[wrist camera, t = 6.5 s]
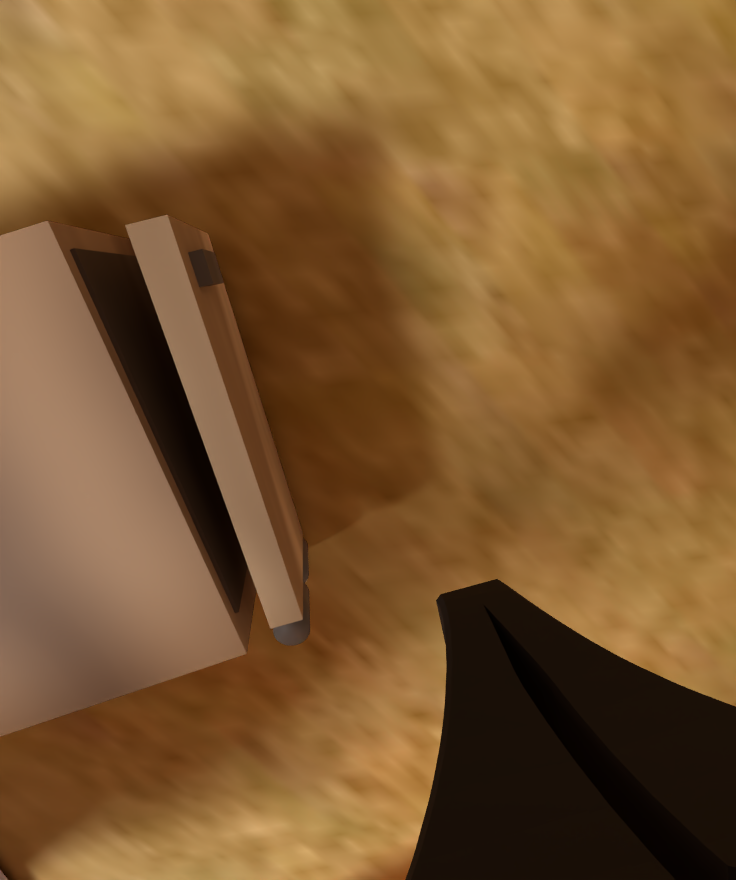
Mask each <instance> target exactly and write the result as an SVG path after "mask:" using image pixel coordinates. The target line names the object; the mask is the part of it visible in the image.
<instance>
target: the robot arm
mask: <svg viewBox="0 0 736 880" xmlns="http://www.w3.org/2000/svg"><path fill="white" fill-rule="evenodd" d="M436 602H437V606H438V611H439V616H440V620H441V625H442V630H443V634H444V639H445V644H446V660H447V673H446V695H445V709H444V719H443V727H442V734H441V742H440V748H439V754H438V759H437V764H436V770H435V775H434V780H433V785H432V789H431V794H430V798H429V802H428V806H427V809H426V813H425V817H424V820H423V824H422V828H421V832H420V835H419V839H418V843H417V846H416V850H415V853H414V856H413V859H412V862H411V865H410V868H409V871H408V874H407V877H406V880H736V707H735V706H732V705H730V704H727V703H724V702H722V701H719V700H716V699H714V698H711V697H708V696H706V695H703V694H701V693H698V692H695V691H693V690H691V689H688V688H686V687H683V686H681V685H679V684H676V683H674V682H671V681H669V680H667V679H665V678H663V677H661V676H658V675H656V674H654V673H652V672H650V671H648V670H646V669H643V668H641V667H639V666H637V665H635V664H633V663H631V662H629V661H627V660H625V659H623V658H621V657H619V656H617V655H615V654H613V653H612V652H610V651H608V650H606V649H604V648H603V647H601V646H599V645H597V644H595V643H594V642H592V641H590V640H589V639H587V638H585V637H584V636H582V635H580V634H579V633H577V632H575V631H574V630H572V629H571V628H569V627H567V626H566V625H564V624H563V623H561V622H560V621H558V620H556V619H555V618H553V617H552V616H550V615H549V614H547V613H546V612H544V611H543V610H541V609H540V608H538V607H537V606H535V605H534V604H533V603H531V602H530V601H528V600H527V599H525V598H524V597H523V596H521V595H520V594H518V593H517V592H516V591H514V590H513V589H511V588H510V587H509V586H507V585H506V584H504V583H503V582H501V581H500V580H498V579H495V580H492V581H488V582H484V583H481V584H477V585H473V586H470V587H466V588H462V589H459V590H455V591H451V592H447V593H444V594H441V595H440V596H439V597H438V599H437V600H436ZM0 880H8V879H7V878H6V876H5V875H4V874H3V872H2V871H1V870H0Z"/></svg>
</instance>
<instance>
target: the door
mask: <svg viewBox="0 0 736 880" xmlns="http://www.w3.org/2000/svg"><path fill="white" fill-rule="evenodd" d="M125 227H126V229H127V232H128V235H129V238H130V240H131V243H132V246H133V249H134V252H135V254H136V257H137V260H138V263H139V265H140V268H141V271H142V274H143V277H144V279H145V282H146V285H147V288H148V290H149V293H150V296H151V299H152V302H153V304H154V307H155V310H156V313H157V315H158V318H159V321H160V324H161V326H162V329H163V332H164V335H165V338H166V340H167V343H168V346H169V349H170V351H171V354H172V357H173V360H174V363H175V365H176V368H177V371H178V374H179V376H180V379H181V382H182V385H183V388H184V390H185V393H186V396H187V399H188V401H189V404H190V407H191V410H192V413H193V415H194V418H195V421H196V424H197V426H198V429H199V432H200V435H201V438H202V440H203V443H204V446H205V449H206V451H207V454H208V457H209V460H210V462H211V465H212V468H213V471H214V474H215V476H216V479H217V482H218V485H219V487H220V490H221V493H222V496H223V499H224V501H225V504H226V507H227V510H228V512H229V515H230V518H231V521H232V524H233V526H234V529H235V532H236V535H237V537H238V540H239V543H240V546H241V549H242V551H243V554H244V557H245V560H246V562H247V565H248V568H249V571H250V574H251V576H252V579H253V582H254V585H255V587H256V590H257V593H258V596H259V599H260V601H261V604H262V607H263V610H264V612H265V615H266V618H267V621H268V623H269V626H270V629H272V628H273V634H274V636H275V638H276V639H277V641H279V642H280V643H282V644H284V645H297V644H300V643H302V642H303V641H305V640H306V638H307V637H308V635H309V633H310V606H309V589H308V587H307V585H306V584H305V582H306V581H307V579H308V576H309V564H308V544H307V542H306V541H305V539H303V532H302V529H301V526H300V523H299V519H298V516H297V513H296V510H295V507H294V504H293V500H292V497H291V494H290V491H289V488H288V485H287V482H286V478H285V475H284V472H283V469H282V466H281V463H280V459H279V456H278V453H277V450H276V447H275V444H274V440H273V437H272V434H271V431H270V428H269V425H268V421H267V418H266V415H265V412H264V409H263V406H262V402H261V399H260V396H259V393H258V390H257V387H256V383H255V380H254V377H253V374H252V371H251V368H250V364H249V361H248V358H247V355H246V352H245V349H244V345H243V342H242V339H241V336H240V333H239V330H238V326H237V323H236V320H235V317H234V314H233V311H232V307H231V304H230V301H229V298H228V295H227V292H226V288H225V285H224V281H223V278H222V275H221V272H220V269H219V265H218V262H217V259H216V256H215V253H214V251H213V247H212V244H211V241H210V238H209V235H208V233H206V232H203V231H201V230H199V229H197V228H195V227H193V226H191V225H188V224H186V223H184V222H182V221H180V220H178V219H176V218H173V217H171V216H169V215H164V216H160V217H156V218H152V219H148V220H144V221H140V222H136V223H132V224H128V225H125Z"/></svg>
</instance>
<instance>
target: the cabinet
mask: <svg viewBox="0 0 736 880" xmlns="http://www.w3.org/2000/svg"><path fill="white" fill-rule="evenodd" d="M255 594H256V587H255V585H254V582H253V579H252V576H251V574H250V571H249V568H248V565H247V562H246V560H245V557H244V554H243V551H242V549H241V546H240V543H239V540H238V537H237V535H236V532H235V529H234V526H233V524H232V521H231V518H230V515H229V512H228V510H227V507H226V504H225V501H224V499H223V496H222V493H221V490H220V487H219V485H218V482H217V479H216V476H215V474H214V471H213V468H212V465H211V462H210V460H209V457H208V454H207V451H206V449H205V446H204V443H203V440H202V438H201V435H200V432H199V429H198V426H197V424H196V421H195V418H194V415H193V413H192V410H191V407H190V404H189V401H188V399H187V396H186V393H185V390H184V388H183V385H182V382H181V379H180V376H179V374H178V371H177V368H176V365H175V363H174V360H173V357H172V354H171V351H170V349H169V346H168V343H167V340H166V338H165V335H164V332H163V329H162V326H161V324H160V321H159V318H158V315H157V313H156V310H155V307H154V304H153V302H152V299H151V296H150V293H149V290H148V288H147V285H146V282H145V279H144V277H143V274H142V271H141V268H140V265H139V263H138V260H137V257H136V254H135V252H134V249H133V246H132V243H131V240H130V239H128V238H123V237H119V236H114V235H110V234H106V233H101V232H97V231H92V230H88V229H83V228H79V227H74V226H70V225H65V224H61V223H56V222H52V221H44V222H41V223H38V224H35V225H32V226H28V227H25V228H22V229H19V230H16V231H13V232H9V233H6V234H3V235H0V737H1V736H4V735H7V734H10V733H13V732H16V731H19V730H22V729H25V728H28V727H31V726H34V725H37V724H40V723H43V722H45V721H48V720H51V719H54V718H57V717H60V716H63V715H66V714H69V713H72V712H75V711H78V710H81V709H84V708H87V707H90V706H93V705H96V704H99V703H102V702H105V701H108V700H111V699H114V698H117V697H120V696H123V695H126V694H129V693H132V692H135V691H138V690H141V689H144V688H147V687H150V686H153V685H156V684H159V683H162V682H165V681H167V680H170V679H173V678H176V677H179V676H182V675H185V674H188V673H191V672H194V671H197V670H200V669H203V668H206V667H209V666H212V665H215V664H218V663H221V662H224V661H227V660H230V659H233V658H236V657H239V656H242V655H245V654H247V649H248V642H249V635H250V628H251V622H252V615H253V608H254V601H255Z"/></svg>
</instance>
